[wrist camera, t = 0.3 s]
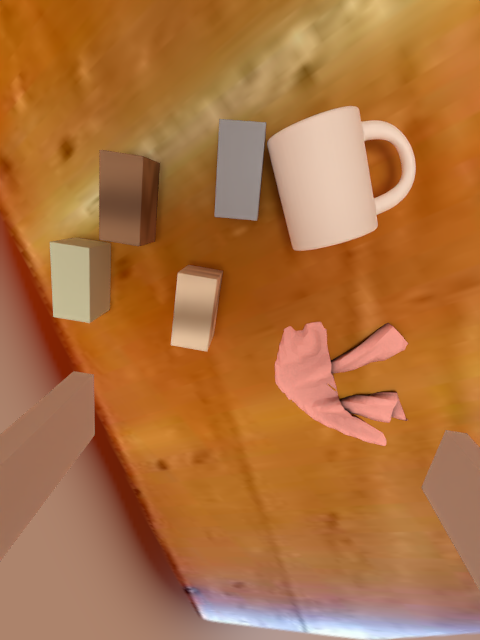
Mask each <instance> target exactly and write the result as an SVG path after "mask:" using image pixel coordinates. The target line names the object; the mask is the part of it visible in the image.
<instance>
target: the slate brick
mask: <svg viewBox="0 0 480 640" xmlns="http://www.w3.org/2000/svg"><path fill="white" fill-rule="evenodd" d="M265 138H266V122H253V121H240V120H226V119H219V139H218V158H217V178H216V198H215V217H222V218H234V219H246V220H258V212H259V202H260V191H261V180H262V170H263V159H264V148H265Z"/></svg>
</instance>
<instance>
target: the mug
mask: <svg viewBox="0 0 480 640" xmlns="http://www.w3.org/2000/svg"><path fill="white" fill-rule="evenodd" d="M373 139H381V140H386V141H389V142H391V143H392V144H393V145H394V146H395V147H396V149H397V151H398V154H399V157H400V160H401V166H402V176H401V179H400V181H399V183H398V184H397V185H396V186H395V187H394V188H393V189H391V190H390V191H388V192H386V193H385V194H383V195H381V196H378V197H376V198H373V192H372V186H371V180H370V174H369V167H368V161H367V155H366V149H365V143H364V141H366V140H373ZM267 147H268V151H269V155H270V159H271V163H272V167H273V171H274V175H275V179H276V183H277V187H278V191H279V195H280V199H281V203H282V207H283V211H284V216H285V220H286V224H287V228H288V232H289V236H290V240H291V244H292V248H293V249H294V250H297V251H305V250H313V249H318V248H323V247H328V246H332V245H336V244H339V243H343V242H346V241H350V240H353V239H356V238H358V237H361V236H364V235H366V234H368V233H370V232H372V231H374V230H375V229H376V228H377V227H378V222H377V216H376V215H378V214H380V213H382V212H385V211H387V210H389V209H391V208H392V207H394V206H395V205H397V204H398V203H399V202H400V201H402V200H403V199H404V197H405V196H406V195H407V194H408V192H409V191H410V189H411V187H412V184H413V181H414V178H415V171H416V164H415V157H414V153H413V150H412V148H411V145H410V143H409V142H408V140H407V138H406V137H405V136H404V134H403V133H402V132H401V131H400V130H399V129H398V128H396V127H395V126H393V125H392V124H390V123H387V122H384V121H378V120H371V121H364V122H361V119H360V112H359V109H358V107H355V106H346V107H340V108H336V109H332V110H329V111H326V112H323V113H320V114H317V115H314V116H311V117H309V118H306V119H304V120H301V121H299V122H297V123H295V124H293V125H290V126H288V127H286V128H285V129H283V130H281V131H279V132H278V133H276V134H275V135H273V136H272V137H271V138H270V139H269V140H268V142H267Z"/></svg>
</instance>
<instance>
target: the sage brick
mask: <svg viewBox="0 0 480 640" xmlns="http://www.w3.org/2000/svg"><path fill="white" fill-rule="evenodd" d="M50 256H51V277H52V299H53V317H57V318H63V319H69V320H75V321H81V322H87V323H90V322H92V321H93V320H95V319H96V318H98V317H99V316H101V315H102V314H104V313H105V312H107V311H108V310H110V276H111V243H107V242H101V241H95V240H89V239H83V238H77V237H76V238H70V239H64V240H58V241H51V242H50Z"/></svg>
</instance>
